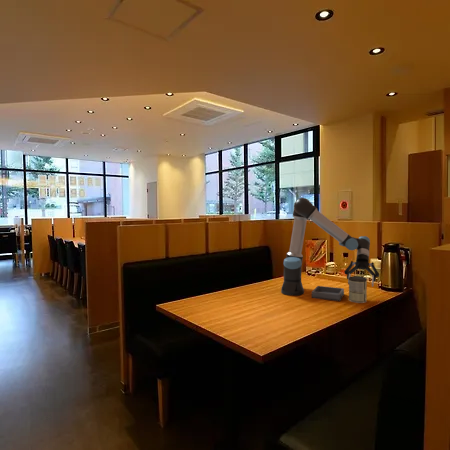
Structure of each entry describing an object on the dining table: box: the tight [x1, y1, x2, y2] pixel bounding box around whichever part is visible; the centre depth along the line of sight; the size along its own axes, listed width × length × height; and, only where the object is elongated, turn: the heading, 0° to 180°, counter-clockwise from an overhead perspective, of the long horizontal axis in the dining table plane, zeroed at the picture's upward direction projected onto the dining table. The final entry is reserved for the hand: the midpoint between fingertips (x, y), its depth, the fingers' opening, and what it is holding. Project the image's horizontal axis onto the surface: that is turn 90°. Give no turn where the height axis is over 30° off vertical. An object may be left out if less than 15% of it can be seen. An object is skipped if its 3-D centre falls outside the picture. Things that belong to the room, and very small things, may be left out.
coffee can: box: [348, 275, 368, 304], centre depth 195 cm, size 10×10×14 cm
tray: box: [311, 285, 345, 302], centre depth 206 cm, size 17×17×4 cm
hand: (360, 284), depth 197 cm, fingers open, 13 cm apart
